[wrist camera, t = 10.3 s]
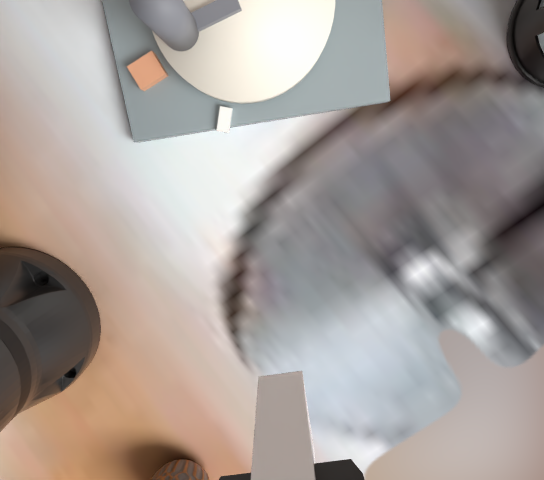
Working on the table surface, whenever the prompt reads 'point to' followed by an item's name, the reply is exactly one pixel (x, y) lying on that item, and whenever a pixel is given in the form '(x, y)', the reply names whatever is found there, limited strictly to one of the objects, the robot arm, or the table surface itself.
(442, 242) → the table surface
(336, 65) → the dial board
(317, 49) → the dial
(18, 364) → the robot arm
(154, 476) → the vase
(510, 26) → the french press
